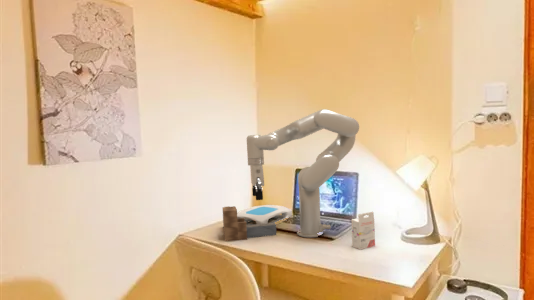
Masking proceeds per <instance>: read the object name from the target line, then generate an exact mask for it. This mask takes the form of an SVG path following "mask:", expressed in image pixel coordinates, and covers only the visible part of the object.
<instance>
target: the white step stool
mask: <svg viewBox="0 0 534 300" xmlns="http://www.w3.org/2000/svg"><path fill="white" fill-rule="evenodd" d="M292 216H293V210H292V209H291V208H288V207H286V206H283V205H276V204H264V205H255V206H251V207H248V208H245V209H242V210H240V211H237V219H239V218H244V219H245V222H246V225H256V224H267V223H275V222H277V221H279V220H283V219H285V218H289V217H290V218H291V217H292ZM271 218H272V219H275V220H272V221H270V222H269V219H271ZM290 218H289V219H290ZM252 221H253V222H254V221H255V223H250V222H252Z"/></svg>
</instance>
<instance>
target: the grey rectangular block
mask: <svg viewBox="0 0 534 300" xmlns="http://www.w3.org/2000/svg"><path fill="white" fill-rule="evenodd" d="M255 224H256V223H255ZM246 227H247V239H250V238H262V237H273V236H277V225H276V224H275V223H269V222H268V223H267V224H256V225H246Z"/></svg>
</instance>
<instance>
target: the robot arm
mask: <svg viewBox="0 0 534 300" xmlns="http://www.w3.org/2000/svg"><path fill="white" fill-rule="evenodd" d="M323 129H325V130H326V131H330V132H332V133H335V134H337V135H336V138H335V139H334V141H333V142H331V144H330V145H329V146H327V148H325V149H324V150H323V151H322V152H320V153H319V154H318V155H317V157H316V159H315V161H314V162H313V163H312V164H311V165H310V166H305V167H303V168H302V169H300V171H299V173H298V176H297V182H298V194H299V195H298V197H299V199H298V200H299V230H300V232H301V233H299V232H296V234H297V236H299V237H301V238H306V239H307V238H310V239H311V238H319V237H318V234H317V233H319V232H322V231H325V230H331V228H332V227H331V224H326V223H325V224H322V223H321V199H320V198H321V196H320V187H321V186H322V185H324V184H325V183H326V182H327V181H328V180H329V179H330V178H332V176H334V175H335V174H336V172H337V171H338V170H339V167H340V162H341V161H342V160H343V159H344V158H345V157H346V156H347V155H348V154H349V153H350V151H352V149H353V147H354V145H355V142H356V135H357V134H358V133H359V131H360V125H359V122H358V121H357V119H356V118H354V117H351V116H349V115H345V114H341V113H339V112H336V111H333V110H330V109H326V108H325V109H324V108H323V109H319V110H317V111H314V112H313V113H309V114H308V115H305V116H303V117H301V118H299V119H297V120H295V121H293V122H291V123H289V124H287V125H285V126H283V127H281V128H279V129H277V130H274V131H272V132H269V133H268V134H263V135H261V134H252V135H248V136H247V137H246V151H247V156H246V157H247V166H250V183H251V185H252V188H251V189H252V196H253V197H255V200H256V201H263V200H264V194H263V193H264V192H263V191H264V190H263V187H264V186H265V177H264V168H263V165H265V160H264V159H265V156H264V154H265V153H264V151H275V150H276V149H278V148H279V147H280V146H283V145H285V144H286V143H289V142H292V141H296V140H301V139H303V138H306V137H308V136H310V135H312V134H315V133H317V132H319V131H321V130H323Z"/></svg>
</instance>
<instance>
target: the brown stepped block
mask: <svg viewBox="0 0 534 300" xmlns="http://www.w3.org/2000/svg"><path fill="white" fill-rule="evenodd" d="M237 213H238V210H237V207H236V206H224V207H222V223H223V238H224V242H235V241H246V240H248V238H247V227H246V222H245V218H239V219H237Z"/></svg>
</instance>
